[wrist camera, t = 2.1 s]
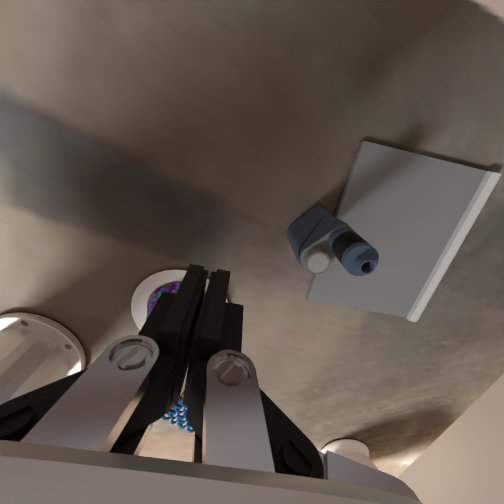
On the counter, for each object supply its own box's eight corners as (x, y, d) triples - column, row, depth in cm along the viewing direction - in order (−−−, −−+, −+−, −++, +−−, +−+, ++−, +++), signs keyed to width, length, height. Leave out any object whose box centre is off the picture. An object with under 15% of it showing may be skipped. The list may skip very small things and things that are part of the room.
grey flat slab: (410, 315, 33) (416, 321, 32) (306, 297, 32) (308, 303, 30) (490, 172, 26) (501, 174, 25) (361, 140, 25) (366, 140, 23)
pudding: (125, 332, 34) (105, 364, 29) (144, 253, 29) (123, 275, 24) (214, 355, 35) (208, 389, 31) (243, 284, 31) (243, 311, 26)
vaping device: (335, 218, 28) (394, 270, 17) (294, 246, 29) (324, 312, 18) (322, 199, 27) (376, 241, 16) (281, 229, 28) (304, 287, 17)
